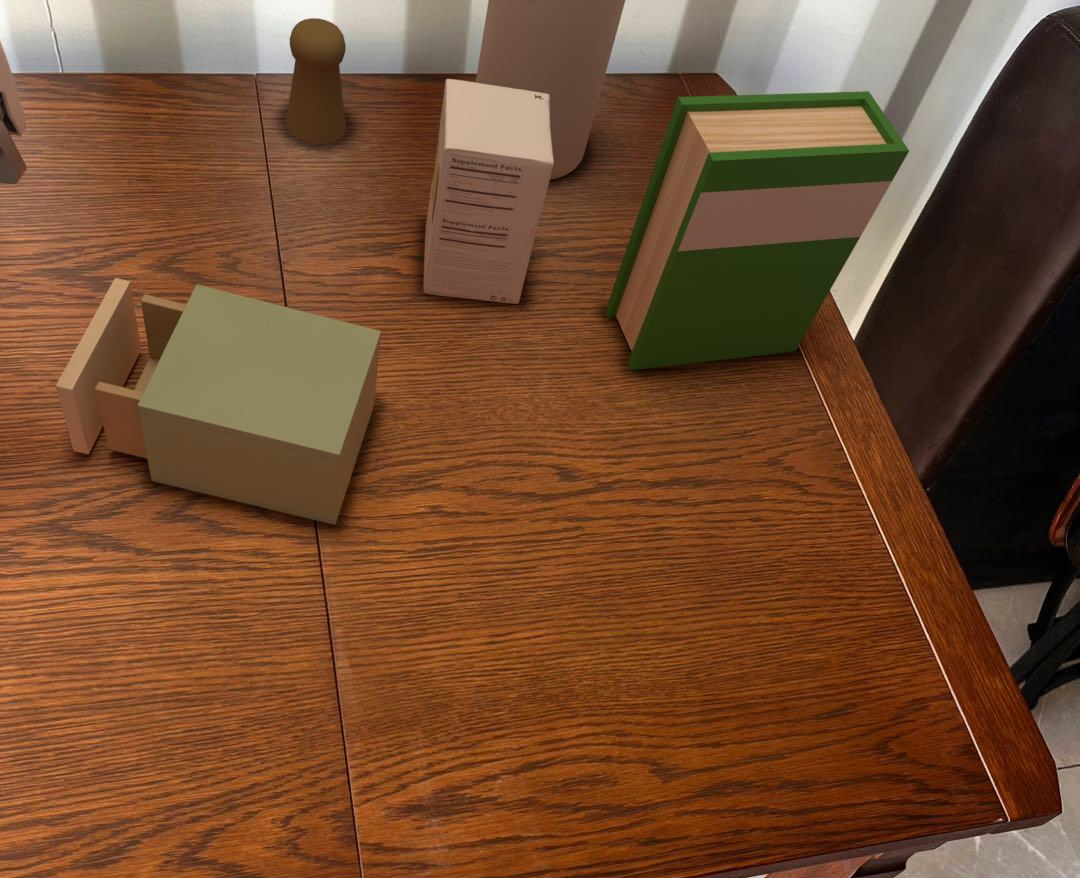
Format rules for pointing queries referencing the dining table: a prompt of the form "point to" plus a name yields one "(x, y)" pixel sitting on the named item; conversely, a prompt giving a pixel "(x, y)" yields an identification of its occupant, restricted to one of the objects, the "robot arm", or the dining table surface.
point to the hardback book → (749, 222)
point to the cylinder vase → (553, 62)
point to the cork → (316, 82)
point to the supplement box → (486, 190)
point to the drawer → (114, 370)
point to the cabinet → (260, 404)
